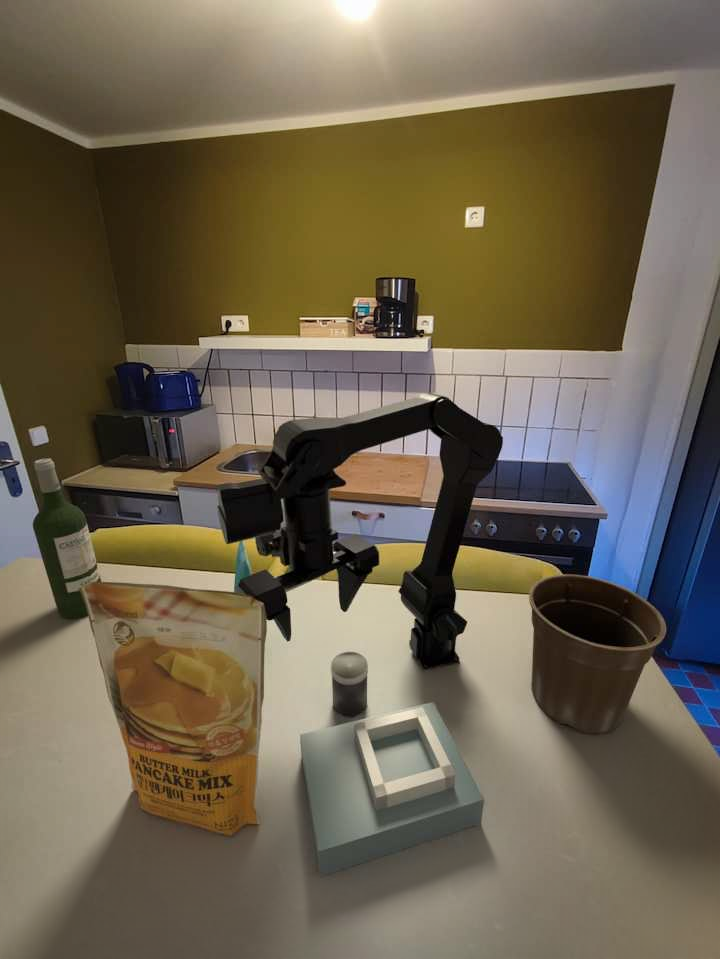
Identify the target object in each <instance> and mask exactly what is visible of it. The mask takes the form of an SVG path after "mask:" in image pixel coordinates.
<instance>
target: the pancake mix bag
mask: <svg viewBox="0 0 720 959" xmlns="http://www.w3.org/2000/svg"><path fill="white" fill-rule="evenodd" d="M79 591H80V592H81V595H82V597H83V600H84V602H85V605H86V609H87V613H88V615H87V616H88V619H89V620H88V621H89V623H90V624H89V626H90V628H91V632H92V635H93V637H94V641H95V645H96V646H95V647H96V648H97V649H96V650H97V654H98V660H99V664H100V668H101V671H102V673H103V676H104V683H105V689H106V692H107V697H108V700H109V702H110V704H111V708H112V710H113V713H114V716H115V719H116V722H117V724H118V727H119V730H120V734H121V735H120V736H121V739H122V741H123V744H124V746H125V749H126V753H127V757H128V758H127V759H128V767H129V768H128V769H129V772H130V777H131V789H132V790H133V791H135V792H136V793H138V803H139V806H140V808H141V809H142V810H144V811H145V812H146V813H148V814H149V815H151V816H154V817H158V818H162V819H165V820H169V821H172V822H175V823H179V824H183V825H187V826H191V827H195V828H198V829H202V830H204V831H207V832H210V833H214V834H218V835H221V836H227V837H228V836H230V837H235V836H236V835H237V834H238V833H239V832H241V830H243V828H244V827H246V826H247V825H261V822H260V819H259V816H258V813H257V811H256V809H255V802H256V801H255V800H256V793H257V784H258V775H259V774H258V771H259V770H258V769H259V753H260V741H261V740H260V739H261V731H262V730H261V729H262V722H263V721H262V719H263V718H262V717H263V716H262V714H263V712H262V710H263V704H264V699H265V651H266V650H265V647H266V639H267V638H266V637H267V632H268V625H267V624H268V623H267V621H268V620H267V619H266V612H265V607H264V603H262V602H260V601H258V600H256V599H255V598H253V597H252V596H249V595H245V594H241V593H237V592H234V591H225V590H215V589H214V590H213V589H201V588H200V589H197V588H195V589H194V588H188V587H182V586H180V587H179V586H174V585H168V584H167V585H165V584H152V583H150V584H149V583H129V582H115V581H101V582H91V583H89V584H87V585H85V586H83V587H81V588H79Z"/></svg>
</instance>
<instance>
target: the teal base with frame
mask: <svg viewBox="0 0 720 959" xmlns="http://www.w3.org/2000/svg"><path fill="white" fill-rule="evenodd" d="M299 742H300V752H301V753H300V754H301V763H302V768H303V769H302V770H303V775H304V776H303V777H304V782H305V788H306V795H307V801H308V808H309V814H310V821H311V828H312V834H313V835H312V836H313V840H314V846H315V855H316V861H317V867H318V874H319V878H322V877H324V876H328V875H330V874H334V873H336V872H339V871H344V870H346V869H349V868H352V867H355V866H357V865H361V864H364V863H367V862H369V861H373V860H377V859H379V858H382V857H385V856H389V855H392V854H394V853H398V852H401V851H403V850H407V849H409V848H412V847H416V846H419V845H421V844H424V843H427V842H431V841H433V840H436V839H440V838H443V837H446V836H448V835H452V834H454V833H457V832H461V831H464V830H467V829H471V828H473V827H476V826H479V825H481V824H482V819H483V818H482V817H483V813H484V812H483V811H484V804H485V798H484V796H483V794H482V792H481V791H480V790H481V789H480V788H479V786H478V785H477V783H476V781H475V779H474V777H473V775H472V774H471V771H470V770H469V767H468V765H467V764H466V762H465V760H464V757H463V755H462V754H461V752H460V750H459V748H458V746H457V745H456V743H455V741H454V739H453V737H452V735H451V733H450V731H449V729H448V728H447V725H446V724H445V722H444V719H443V718H442V715H441V714H440V712H439V710H438V708H437V706H436V705H435V703H434V701H431V702H428V703H424V704H419V705H415V706H410V707H408V708H402V709H399V710H395V711H390V712H388V713H383V714H378V715H375V716H371V717H366V718H362V719H358V720H354V721H353V720H352V721H349V722H346V723H341V724H337V725H333V726H329V727H325V728H320V729H317V730H313V731H309V732H304V733H301V734H299Z"/></svg>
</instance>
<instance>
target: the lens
mask: <svg viewBox="0 0 720 959" xmlns="http://www.w3.org/2000/svg"><path fill="white" fill-rule="evenodd" d="M368 662H369V661H368V660H367V658H366V657H365V656H364V655H363V654H361V653H359V652H357V651H350V650H349V651H344V652H340V653H338V654H337V655H336V656H334V657H333V658H332V660H331V663H330V673H331V685H332V687H331V689H332V691H331V692H332V706H333V709H334V712H336V713H337V714H338V715H340V716H341V717H344V718H355V717H358V716H360V715H361V714H363V713H364V712H365V710H366V709H367V706H368V673H369V663H368Z"/></svg>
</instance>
